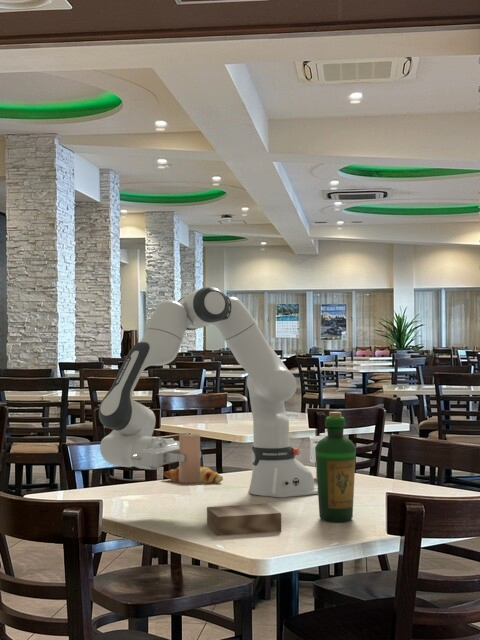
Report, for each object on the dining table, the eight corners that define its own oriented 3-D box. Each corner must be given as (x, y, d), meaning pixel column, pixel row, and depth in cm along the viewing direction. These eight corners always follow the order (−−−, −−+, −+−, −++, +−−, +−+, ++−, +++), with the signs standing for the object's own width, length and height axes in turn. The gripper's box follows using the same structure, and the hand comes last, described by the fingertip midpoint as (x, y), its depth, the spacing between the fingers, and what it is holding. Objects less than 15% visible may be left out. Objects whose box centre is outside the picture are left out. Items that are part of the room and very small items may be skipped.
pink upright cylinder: (197, 478, 218) (197, 433, 218) (202, 482, 212) (202, 436, 213) (177, 479, 216) (177, 434, 216) (181, 483, 211) (181, 436, 211)
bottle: (346, 525, 206) (345, 414, 206) (308, 520, 211) (307, 413, 212) (363, 517, 215) (362, 411, 215) (326, 513, 220) (325, 410, 221)
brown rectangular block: (267, 521, 211) (266, 503, 211) (281, 531, 200) (281, 512, 200) (207, 524, 207) (207, 507, 207) (218, 535, 195) (217, 516, 195)
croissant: (225, 492, 270) (229, 469, 274) (217, 483, 262) (221, 459, 266) (166, 488, 277) (171, 465, 280) (156, 478, 268) (161, 455, 272)
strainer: (334, 477, 279) (333, 433, 279) (325, 480, 273) (325, 435, 273) (315, 475, 282) (315, 432, 283) (306, 478, 276) (306, 434, 277)
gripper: (126, 445, 212) (168, 449, 205) (172, 437, 230) (213, 440, 223) (126, 469, 212) (168, 474, 205) (173, 459, 230) (213, 463, 222)
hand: (192, 456), depth 214 cm, fingers closed on pink upright cylinder, 5 cm apart
